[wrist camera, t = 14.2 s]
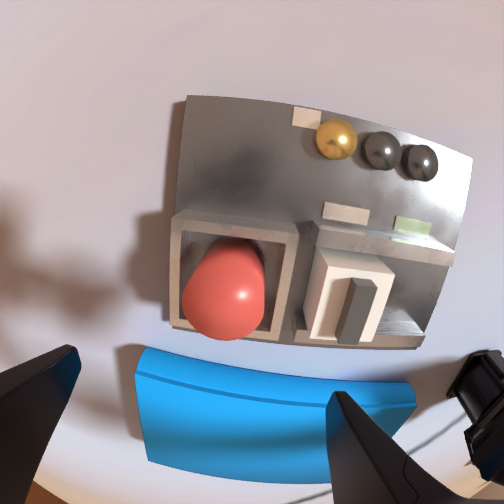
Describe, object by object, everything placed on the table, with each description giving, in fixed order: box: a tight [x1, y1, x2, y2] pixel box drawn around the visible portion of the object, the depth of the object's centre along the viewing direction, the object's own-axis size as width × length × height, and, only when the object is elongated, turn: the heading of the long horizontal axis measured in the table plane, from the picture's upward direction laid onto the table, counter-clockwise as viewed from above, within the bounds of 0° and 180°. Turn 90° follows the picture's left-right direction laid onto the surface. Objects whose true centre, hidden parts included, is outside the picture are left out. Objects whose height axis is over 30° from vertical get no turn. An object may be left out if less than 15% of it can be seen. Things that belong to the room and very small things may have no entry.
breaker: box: [303, 246, 395, 345], centre depth 16 cm, size 4×4×4 cm
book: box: [134, 347, 417, 484], centre depth 23 cm, size 17×4×25 cm
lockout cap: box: [182, 238, 264, 341], centre depth 16 cm, size 4×4×5 cm
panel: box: [169, 95, 472, 350], centre depth 17 cm, size 16×20×4 cm
